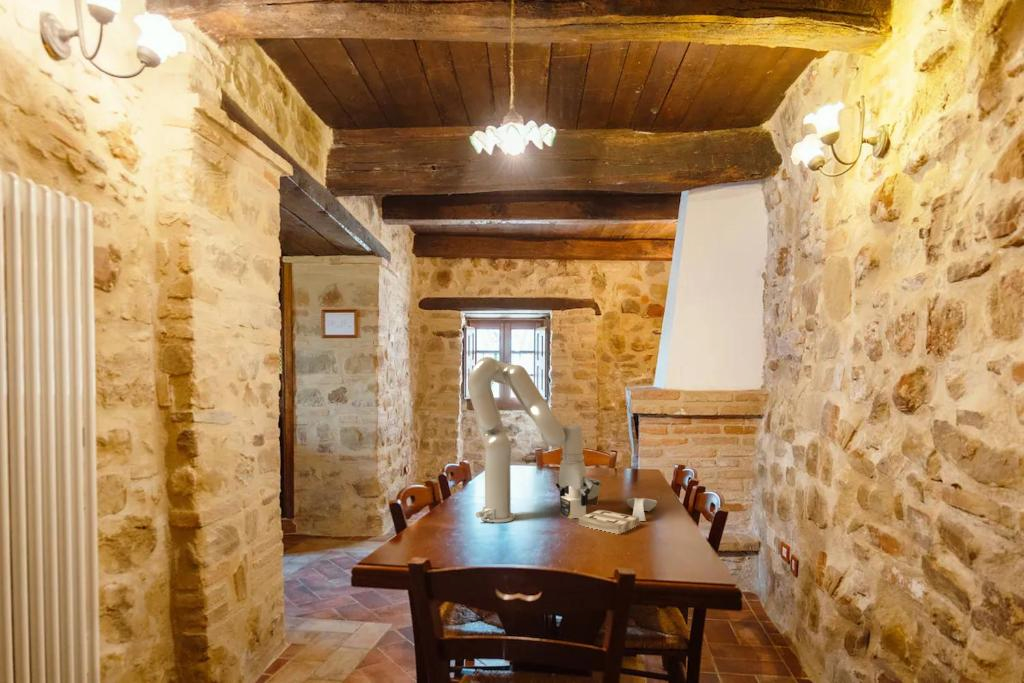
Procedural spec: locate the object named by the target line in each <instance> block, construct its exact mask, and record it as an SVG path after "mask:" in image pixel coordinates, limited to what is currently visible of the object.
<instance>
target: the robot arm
mask: <svg viewBox="0 0 1024 683" xmlns="http://www.w3.org/2000/svg"><path fill="white" fill-rule="evenodd" d="M492 382H494V383H497V384H501V385H504V386H508V387H509V388H510V389H511V391H512V393H513V394H514V396H515V398H516V400H517V401H518V402H519V405H520V406H521V408H522V409H523V410H524V412H525V414H526V415H528V416H529V417H530V418H531V419H532V421H533V422H534V423H535V425H536V427H537V428H538V430H539V431H540V436H541V439H542V440H543V441H544V442H545V444H547V445H549V446H551V447H553V448H557V447H560V446H562V453H560V457H561V458H562V460H561V461H560V464H559V473H558V476H556V477H555V478H554V479H553V480H554V483H555V486H556V488H557V489H558V490H557V491H559V498H560V497H561V496H566V495H565V487H566V486H571V487H572V489H574V490H580V491H581V493H582V494H583V495H581V506H585V505H587V504H588V494H589V493H590V491H591V490H592V487H593V485H594V484H593V483H592V482H590V481H589V480H588V479H587V478H588V477H587V469H586V465H585V461H584V454H583V452H584V451H583V427H582V426H581V425H580V424H575V423H574V424H572V423H571V424H565V425H564V424H561V423H560V422H559V420H558V418H557V417H556V416H555V414H554V413H553V412H552V410H551V408H550V407H549V405H548V403H547V401H546V400H545V398H544V397H543V395H542V393H541V392H540V391H539V389H538V387H537V386H536V384H535V383H534V381H533V379H532V378H531V376H530V374H529V372H528V371H527V370H526V368H525V367H523V366H522V365H519V364H511V363H507V362H503V361H500V360H496V359H495V358H493V357H489V356H485V357H482V358H480V359H479V360H478V361H477V362H476V364H475V365H474V366H473V368H472V369H471V371H470V373H469V375H468V380H467V389H468V395H469V397H470V401H471V405H472V408H473V411H474V418H475V420H474V421H475V422H476V423H475V424H476V426H477V429H478V433H479V435H480V438H481V441H482V444H483V446H484V506H483V508H482V510H481V511H477V512H475V517H476V518H480V519H481V521H484V522H487V523H492V522H494V523H495V524H496V523H497V524H501V523H508V522H511V521H514V520H515V518H516V517H515V516H516V515H515V514H514V513H512V512H511V463H512V462H511V461H512V459H511V458H512V445H511V444H512V443H511V441H510V439H509V436H507V434H506V431H505V428H504V424H503V422H502V419H501V418H502V417H501V416H502V415H501V413H500V410H499V409H498V406H497V402H496V399H495V397H494V393H493V389H492ZM587 485H588V488H586V486H587ZM494 523H493V524H494Z"/></svg>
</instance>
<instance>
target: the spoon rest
mask: <svg viewBox="0 0 1024 683" xmlns="http://www.w3.org/2000/svg"><path fill="white" fill-rule="evenodd" d="M626 503H627V505H628V506H629V507H630V508H631V509H632V510H633V511H632V516H636V517H639V521H645V522H646V515H645V514H646V512H644V511H648V512H650V511H652V510H653V509H654V508H655V507H656V506H657V504H658V500H656V499H652V498H645V497H644V498H642V497H641V498H640V497H639V498H637V497H632V498H627V499H626Z"/></svg>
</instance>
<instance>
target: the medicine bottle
mask: <svg viewBox="0 0 1024 683" xmlns="http://www.w3.org/2000/svg"><path fill="white" fill-rule="evenodd" d="M565 495H566V496H561V497H560V496H559V502H560V506H559V509H560V511H559V512H560V514H561V515H560V516H562V515H563V516H562V517H564V516H565V517H564V518H566V517H568V518H570V519H569V520H572V519H571V518H577V519H579V517H581V516H584V515H586V514H587V506H586V505H585V506H581V491H580V490H574V489H572V487H571V486H566V487H565ZM568 518H567V519H568Z"/></svg>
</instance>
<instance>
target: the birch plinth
mask: <svg viewBox="0 0 1024 683" xmlns="http://www.w3.org/2000/svg"><path fill="white" fill-rule="evenodd" d="M579 525H581V526H580V527H582V526H585V527H584V528H586V527H589V528H588V529H591V528H593V529H592V530H595V529H598V530H597V531H599V530H602V531H601V532H604V531H606V532H605V533H608V532H611V533H610V534H613V533H615V534H614V535H617V534H619V535H621V533H622V534H624V533H626V532H628V531H631V530H633V529H635V528H637V527H636V526H638V525H639V526H640V522H639V517H636V516H633V515H631V514H630V515H629V514H625V513H621V512H615V511H609V510H606V509H597V510H595V511H592V512H589V513H586V515H584V516H581V517H579V518H578V526H579ZM639 526H638V527H639ZM634 527H635V528H634ZM632 528H633V529H632ZM630 529H631V530H630ZM625 531H626V532H625ZM623 532H624V533H623Z"/></svg>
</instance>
